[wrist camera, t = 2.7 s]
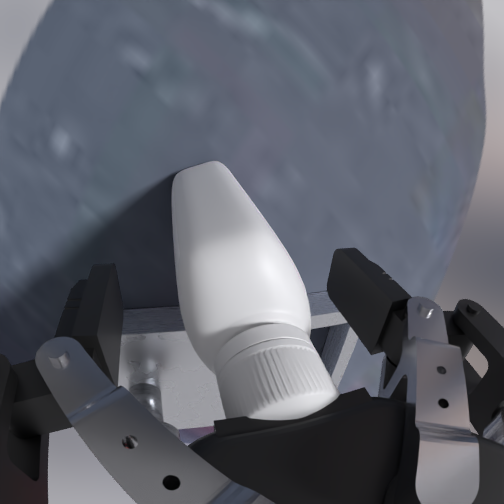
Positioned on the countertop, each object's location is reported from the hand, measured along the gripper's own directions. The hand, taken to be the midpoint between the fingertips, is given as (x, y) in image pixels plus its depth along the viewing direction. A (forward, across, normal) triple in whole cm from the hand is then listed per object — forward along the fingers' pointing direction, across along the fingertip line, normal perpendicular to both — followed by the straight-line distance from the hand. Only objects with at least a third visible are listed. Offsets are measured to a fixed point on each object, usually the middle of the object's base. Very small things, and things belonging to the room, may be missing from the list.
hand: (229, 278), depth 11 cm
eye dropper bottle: (+5, 0, 0) cm, 5 cm away
